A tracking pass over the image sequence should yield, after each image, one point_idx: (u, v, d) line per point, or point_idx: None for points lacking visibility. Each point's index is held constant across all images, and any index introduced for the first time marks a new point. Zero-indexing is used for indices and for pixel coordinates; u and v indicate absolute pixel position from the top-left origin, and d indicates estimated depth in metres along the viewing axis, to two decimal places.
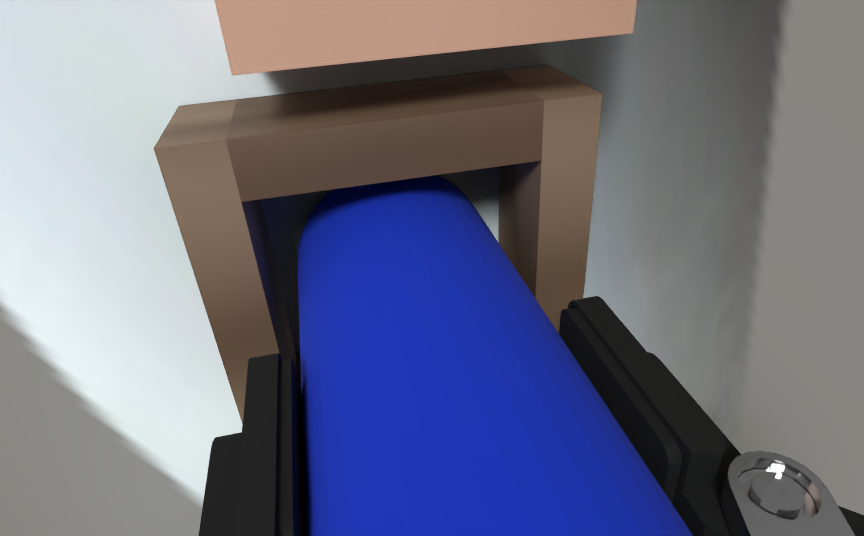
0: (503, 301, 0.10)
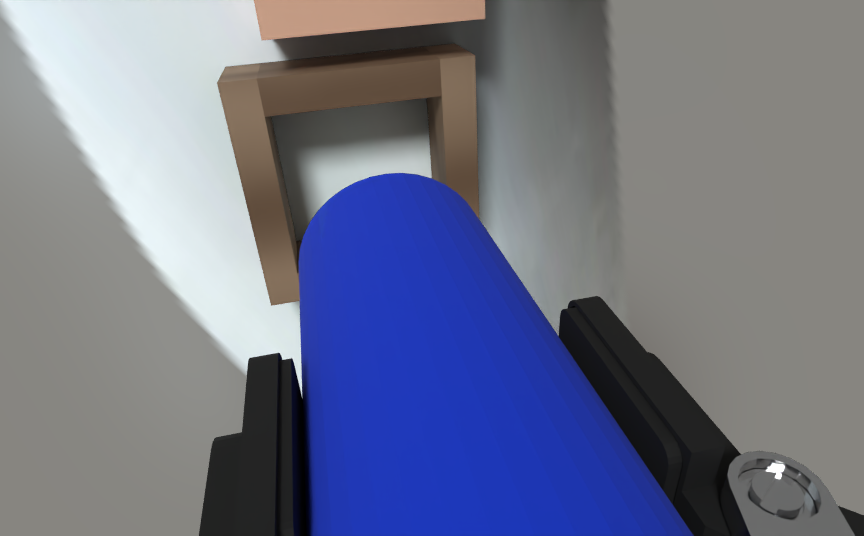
0: (503, 302, 0.10)
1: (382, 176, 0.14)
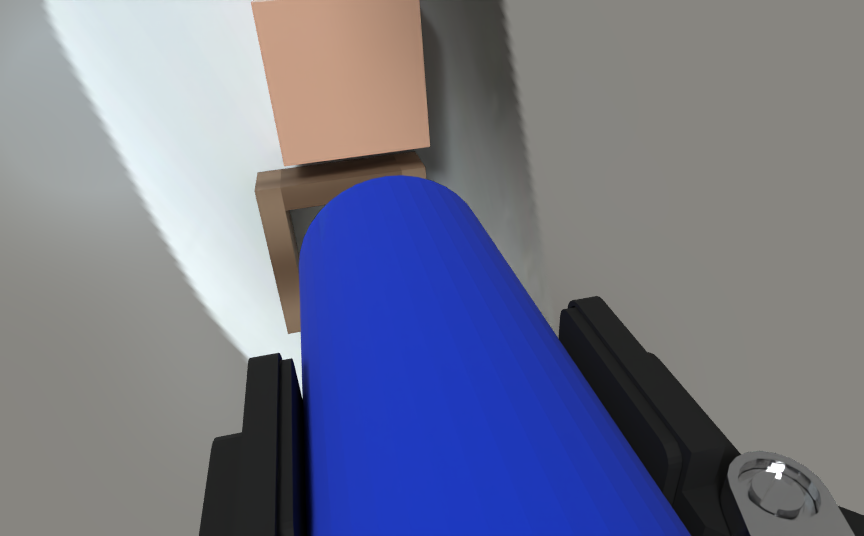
0: (503, 305, 0.10)
1: (382, 178, 0.14)
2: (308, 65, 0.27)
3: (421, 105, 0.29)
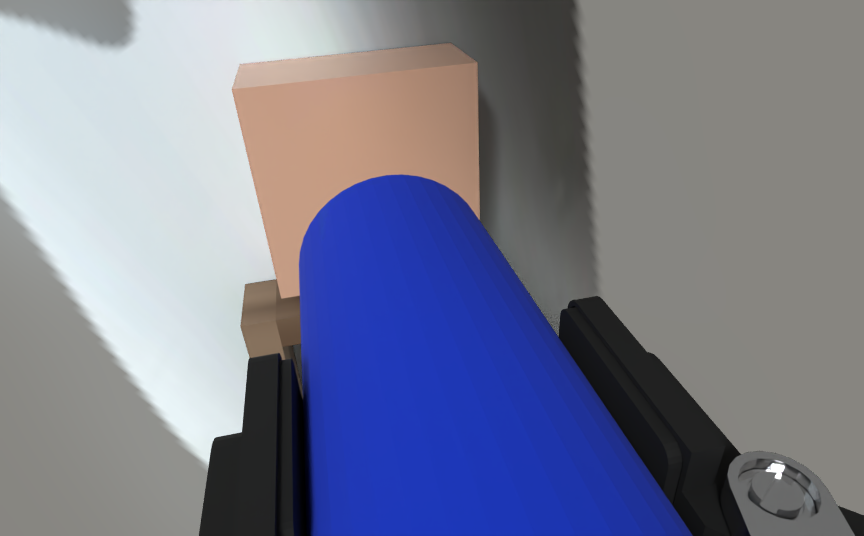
0: (504, 305, 0.10)
1: (382, 177, 0.14)
2: (316, 171, 0.19)
3: None
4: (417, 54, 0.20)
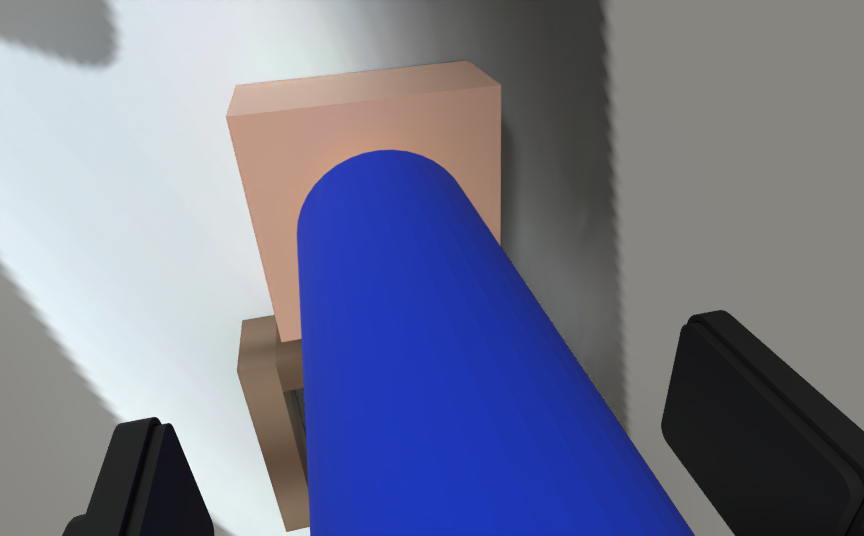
0: (482, 261, 0.11)
1: (374, 152, 0.16)
2: None
3: None
4: (432, 74, 0.18)
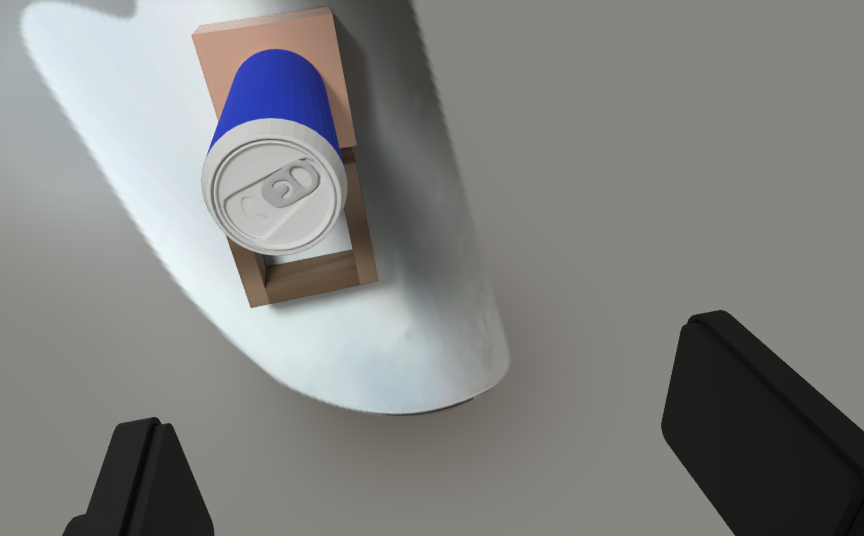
0: (291, 75, 0.26)
1: (266, 50, 0.31)
2: None
3: (345, 111, 0.34)
4: (303, 13, 0.33)
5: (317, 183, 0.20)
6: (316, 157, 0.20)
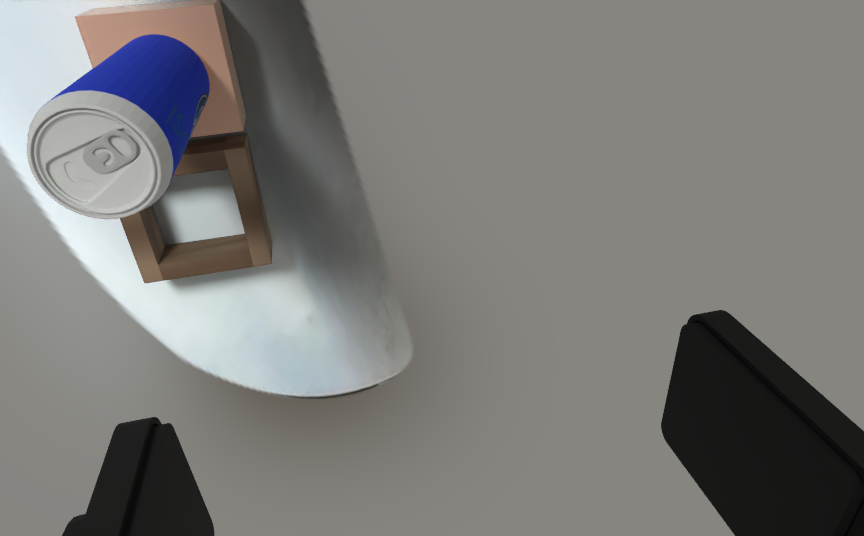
0: (151, 57, 0.28)
1: None
2: None
3: (230, 97, 0.36)
4: (191, 2, 0.35)
5: (136, 153, 0.22)
6: (133, 128, 0.22)
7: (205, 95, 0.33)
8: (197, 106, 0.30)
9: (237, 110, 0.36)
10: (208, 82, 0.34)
